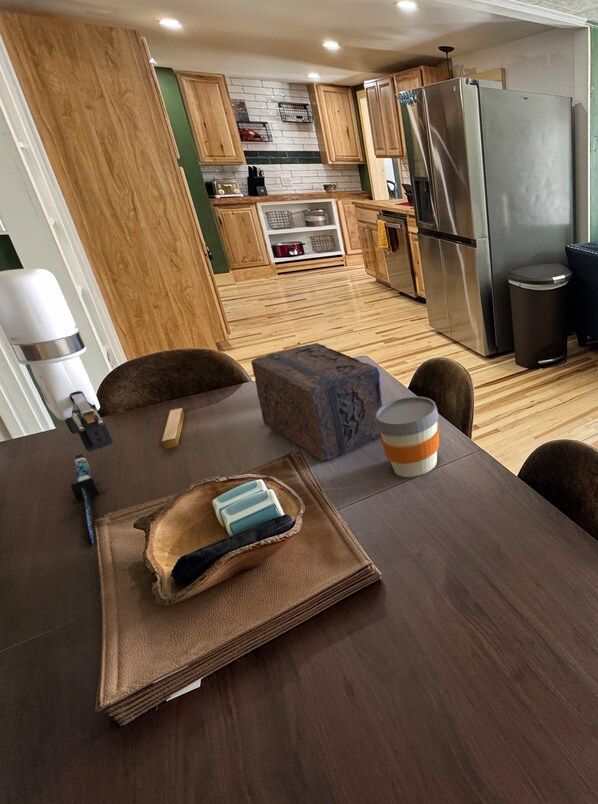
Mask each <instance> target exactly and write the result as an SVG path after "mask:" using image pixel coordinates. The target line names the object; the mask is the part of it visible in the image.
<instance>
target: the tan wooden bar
mask: <svg viewBox="0 0 598 804" xmlns="http://www.w3.org/2000/svg"><path fill="white" fill-rule="evenodd" d="M184 420H185V412H184V409H183V407H179V408H175V409H174V408H173V409H170V411H169V414H168V417H167V421H166V425H165V429H164V431H163V432H164V433H163V435H162V439H161V443H162V445H163V448H164V450H167V449H171V448H176V447H179V443H180V438H181V434H182V429H183V423H184Z"/></svg>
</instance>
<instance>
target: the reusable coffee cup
mask: <svg viewBox="0 0 598 804" xmlns="http://www.w3.org/2000/svg"><path fill="white" fill-rule="evenodd" d="M438 420H439V412H438V408H437V405H436V402H435V401H434V400H433V399H431V398H428V397H425V396H405V397H401V398H397V399H393V400H391V401H388V402H387V403H385V404H382V407H380V408H379V409H378V410H377V412H376V426H377V430H378V431H379V432H380V434H381V436H380V437H379V438H380V439H379V440H380V443H381V445H382V448H383V451H384V453H385V456H386V458H387V459H388V461H390V464H391V466H392V469H393V471H394V473H395V474H396V475H397V476H399V477H402V478H413V477H419V476H423V475H425V474H427V473H429V472H430V471H432V470H433V469H434V468H435V467H436V465H437V463H438V449H439V447H440V427H439V424H438Z"/></svg>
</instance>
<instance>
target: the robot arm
mask: <svg viewBox="0 0 598 804" xmlns="http://www.w3.org/2000/svg"><path fill="white" fill-rule="evenodd" d="M0 328H1V331H2V333H3V334H4V336H5V339H6V340H7V343H8V344H9V347H10V348H11V351H12V353H13V355H14V357H15V359H16V361H17V363H18V364H20V365H24V366H26V365H28V366H29V367H30V369H31V372H32V374H33V377H34V379H35V381H36V384H37V385H38V387H39V390H40V392H41V393H42V396H43V398H44V401H45V403H46V405H47V408H48V409H49V410H50V411H51V413H52V414H53V415H54V416H55V417H56V419H58V420H59V421H64V422H65V424H66V425H67V427H68V429H69V432H70V433H71V434H75V435H76V434H78V436H79V438H80V440H81V442H82V444H83V446H84V449H85V451H86V452H93V451H96V450H100V449H102V448H105V447H108V446H111V445H112V444H113V443H114V441H113V438H112V437H111V435H110V431H109V430H108V427H107V425H106V423H105V422H103V420H102V418H101V416H100V414H99V413H98V411H99V410H100V409H101V405H100V402H99V400H98V397H97V394H96V391H95V389H94V386H93V384H92V382H91V380H90V377H89V375H88V373H87V371H86V368H85V366H84V364H83V362H82V359H81V357H80V355H81V354H84V353H85V352H86V351H87V347H86V344H85V342H84V340H83V338H82V336H81V333H80V331H79V329H78V326H77V324H76V322H75V319H74V317H73V315H72V312H71V310H70V307H69V305H68V303H67V300H66V298H65V296H64V294H63V292H62V289H61V287H60V285H59V282H58V280H57V278H56V277H55V275H54V274H53V273H52V272H51V271H49V270H47V269H44V268H43V269H42V268H16V269H15V268H14V269H7V270H1V271H0Z"/></svg>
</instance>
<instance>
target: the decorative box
mask: <svg viewBox="0 0 598 804" xmlns="http://www.w3.org/2000/svg"><path fill="white" fill-rule="evenodd" d="M250 363H251V367H252V372H253V375H254V376H253V377H254V380H255V386H256V393H257V397H258V401H259V407H260V411H261V416H262V417H261V418H262V421H263V424H264V425H265V426H266V427H267V428H270V429H272V430H273V431H275V432H277V433H278V434H279V435H281V436H283V437H284V438H286V439H288V440H289V441H291V443H293V444H296V445H298V446H299V447H301V448H302V449H303V450H304V451H306V452H307V453H309V454H311V455H312V456H314V457H315V458H316V459H318V460H320V461H322V462H325V461H331V460H334V459H336V458H337V457H340V456H342V455H345V454H347V453H350V452H352V451H355V450H356V449H358V448H360V447H363V446H365V445H367V444H369V443H371V442H373V441H376V440H378V439H379V438H380V436H381V434H380V432H379V431H378V430H377V426H376V412H377V410H378V409H379V408H380V407H382V406H383V400H382V389H381V380H380V379H381V377H380V376H381V373H380V371H379V368H378V367H376V366H375V365H372V364H371V363H367V362H366V363H365V362H362V361H361V360H359V359H356V358H353V357H352V356H349V355H347V354H344V353H342V352H340V351H337V350H335V349H333V348H330V347H327V346H325V345H323V344H321V343H318V342H315V343H310V344H306V345H302V346H297V347H294V348H290V349H286V350H280V351H277V352H273V353H269V354H266V355H263V356H258V357H254V359H252V360H251V361H250Z"/></svg>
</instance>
